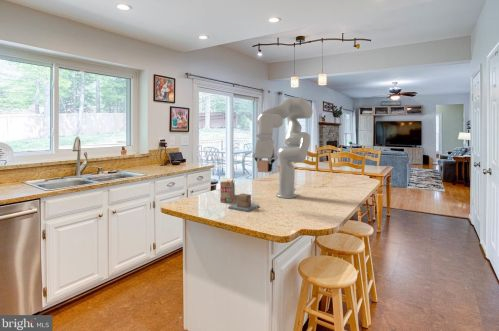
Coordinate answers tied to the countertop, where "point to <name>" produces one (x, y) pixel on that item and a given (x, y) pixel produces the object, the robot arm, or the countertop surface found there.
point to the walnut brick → (244, 200)
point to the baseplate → (243, 207)
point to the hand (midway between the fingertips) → (264, 170)
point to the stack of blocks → (227, 190)
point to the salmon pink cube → (263, 166)
